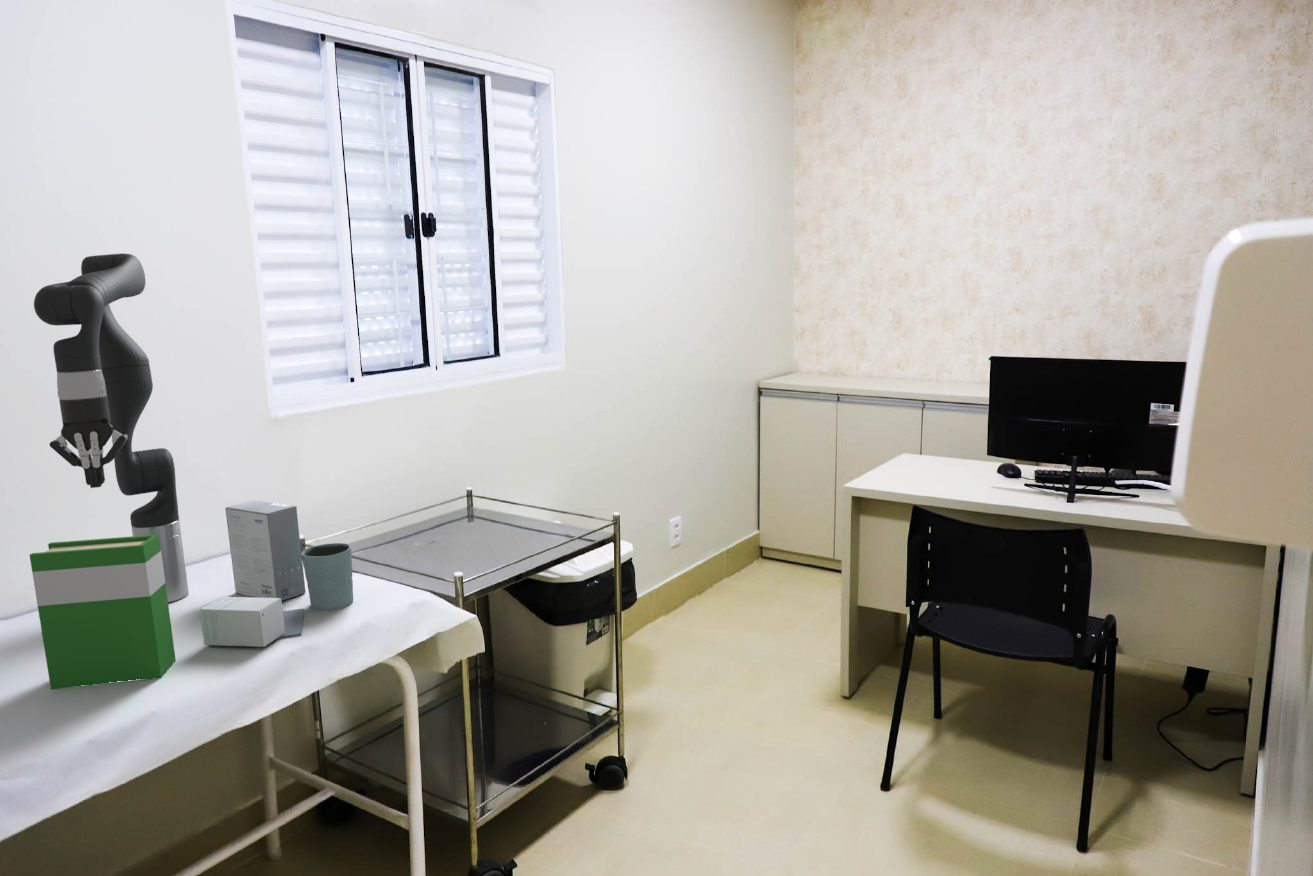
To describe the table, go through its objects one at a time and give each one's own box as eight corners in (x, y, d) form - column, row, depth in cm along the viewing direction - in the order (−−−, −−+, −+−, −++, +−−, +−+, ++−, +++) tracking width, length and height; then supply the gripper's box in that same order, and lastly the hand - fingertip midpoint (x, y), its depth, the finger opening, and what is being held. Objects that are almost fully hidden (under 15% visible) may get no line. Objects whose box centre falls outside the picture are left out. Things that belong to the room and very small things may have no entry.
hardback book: (50, 689, 155) (29, 554, 151) (70, 671, 163) (50, 542, 159) (161, 678, 158) (143, 545, 154) (175, 661, 166) (158, 534, 162)
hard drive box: (307, 593, 200) (298, 506, 197) (276, 604, 194) (266, 514, 191) (264, 583, 209) (254, 499, 205) (233, 593, 202) (223, 506, 199)
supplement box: (203, 646, 171) (263, 648, 169) (198, 608, 170) (259, 610, 168) (228, 631, 178) (286, 633, 176) (224, 595, 177) (282, 597, 175)
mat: (230, 620, 185) (230, 618, 185) (303, 610, 190) (303, 608, 190) (222, 647, 171) (221, 645, 171) (301, 635, 176) (300, 633, 176)
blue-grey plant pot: (328, 614, 187) (323, 558, 185) (296, 607, 192) (290, 553, 190) (366, 599, 195) (361, 545, 193) (334, 592, 200) (329, 540, 198)
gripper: (127, 390, 173) (139, 479, 176) (47, 395, 169) (61, 486, 172) (119, 394, 166) (131, 487, 169) (35, 400, 162) (49, 494, 165)
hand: (96, 486), depth 170 cm, fingers closed
